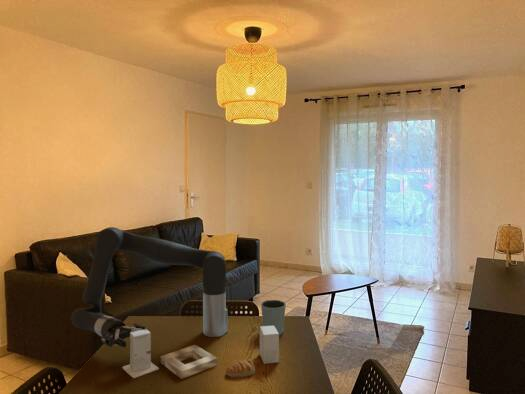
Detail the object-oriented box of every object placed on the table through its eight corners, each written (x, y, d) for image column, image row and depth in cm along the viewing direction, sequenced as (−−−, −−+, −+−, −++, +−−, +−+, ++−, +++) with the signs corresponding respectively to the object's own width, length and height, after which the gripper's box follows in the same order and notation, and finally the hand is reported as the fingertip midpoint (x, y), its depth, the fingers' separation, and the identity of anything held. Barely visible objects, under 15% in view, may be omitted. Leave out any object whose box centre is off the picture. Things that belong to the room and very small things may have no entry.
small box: (279, 363, 143) (279, 333, 142) (263, 364, 142) (263, 335, 141) (274, 352, 151) (274, 325, 150) (259, 353, 150) (259, 325, 149)
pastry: (230, 381, 131) (230, 370, 130) (222, 372, 137) (222, 361, 136) (256, 374, 135) (256, 363, 135) (248, 366, 141) (248, 355, 141)
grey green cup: (289, 330, 171) (289, 302, 170) (277, 339, 162) (277, 309, 161) (269, 325, 176) (269, 298, 175) (256, 333, 168) (256, 304, 167)
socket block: (195, 351, 151) (195, 344, 151) (217, 365, 141) (217, 358, 141) (160, 363, 142) (160, 356, 142) (181, 379, 132) (181, 371, 131)
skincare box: (133, 372, 135) (132, 336, 134) (129, 366, 138) (128, 332, 137) (151, 367, 138) (151, 332, 137) (147, 362, 142) (147, 328, 141)
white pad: (146, 359, 144) (146, 358, 144) (158, 369, 138) (158, 368, 138) (122, 367, 138) (122, 366, 138) (133, 378, 132) (133, 377, 132)
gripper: (91, 323, 143) (117, 336, 133) (126, 312, 154) (153, 323, 144) (91, 344, 143) (117, 358, 133) (127, 331, 154) (153, 343, 144)
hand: (136, 340), depth 138 cm, fingers open, 8 cm apart
